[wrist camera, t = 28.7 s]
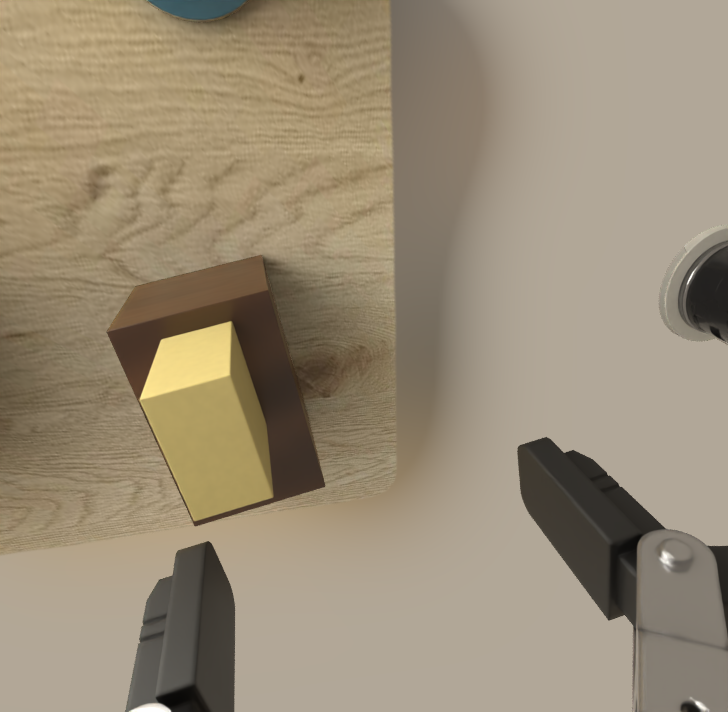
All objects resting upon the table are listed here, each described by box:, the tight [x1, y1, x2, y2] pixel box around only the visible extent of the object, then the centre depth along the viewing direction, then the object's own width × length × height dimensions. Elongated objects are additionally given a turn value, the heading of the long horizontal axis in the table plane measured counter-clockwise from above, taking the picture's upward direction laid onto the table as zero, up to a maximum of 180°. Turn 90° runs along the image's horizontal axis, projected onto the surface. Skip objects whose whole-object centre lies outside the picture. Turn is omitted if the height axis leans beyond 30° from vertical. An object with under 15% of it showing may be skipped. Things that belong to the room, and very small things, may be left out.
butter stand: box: [107, 255, 325, 526], centre depth 40 cm, size 16×10×10 cm, turn 11°
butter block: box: [140, 321, 273, 521], centre depth 31 cm, size 8×4×8 cm, turn 11°
